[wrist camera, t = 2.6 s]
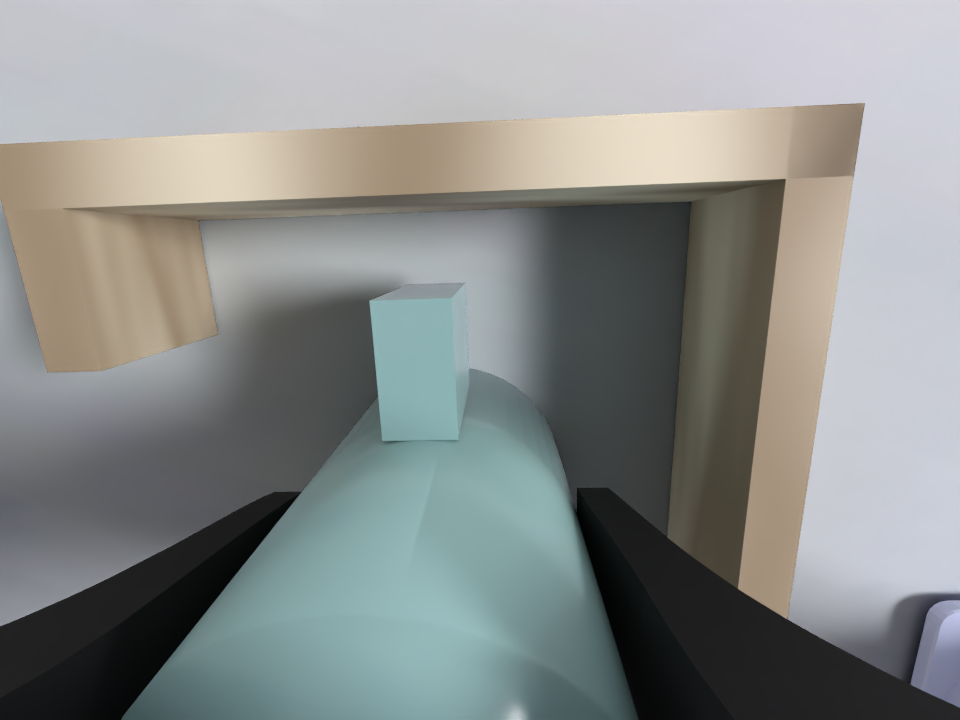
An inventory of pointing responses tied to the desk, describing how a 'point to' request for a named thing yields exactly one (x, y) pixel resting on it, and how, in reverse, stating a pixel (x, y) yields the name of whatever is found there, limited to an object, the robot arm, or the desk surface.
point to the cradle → (496, 185)
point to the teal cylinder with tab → (413, 564)
